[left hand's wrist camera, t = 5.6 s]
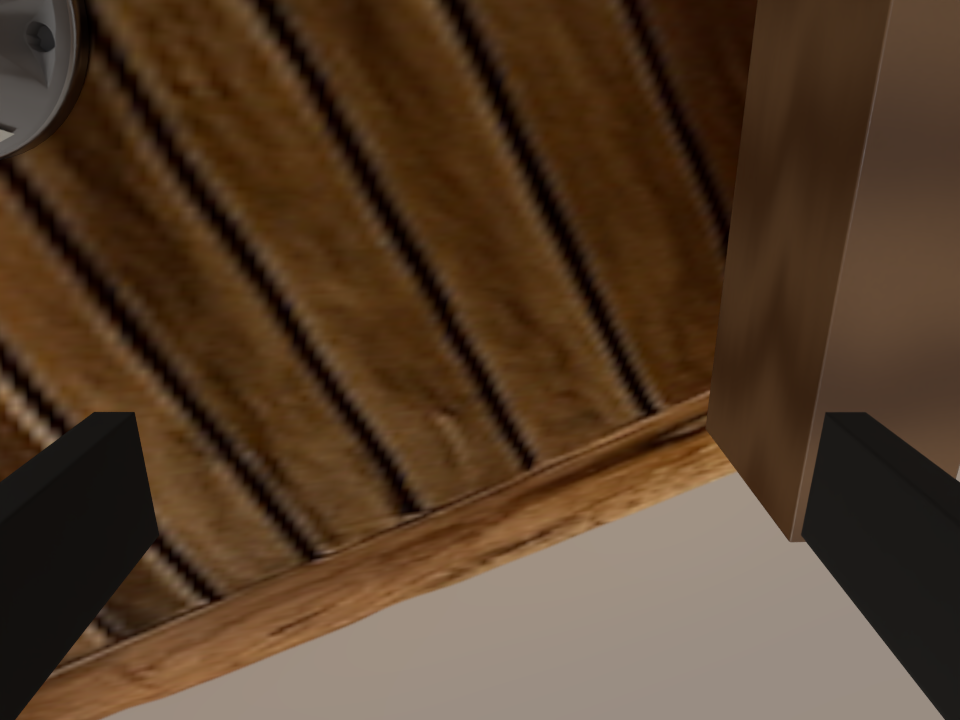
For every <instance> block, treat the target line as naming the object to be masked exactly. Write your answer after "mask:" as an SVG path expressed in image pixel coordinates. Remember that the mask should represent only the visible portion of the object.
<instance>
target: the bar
mask: <svg viewBox="0 0 960 720" xmlns="http://www.w3.org/2000/svg"><path fill="white" fill-rule="evenodd" d="M825 412H866V413H868V414H869V415H870V416H872V417H873V418H874V419H876V420H877V421H878V422H880V423H881V424H882V425H884V426H885V427H886V428H888V429H889V430H890V431H892V432H893V433H894V434H896V435H897V436H898V437H900V438H901V439H902V440H904V441H905V442H906V443H908V444H909V445H910V446H912V447H913V448H915V449H916V450H917V451H919V452H920V453H921V454H923V455H924V456H925V457H927V458H928V459H929V460H931V461H932V462H933V463H935V464H936V465H937V466H939V467H940V468H941V469H943V470H944V471H945V472H947V473H948V474H949V475H951V476H952V477H953V478H955V479H956V476H957V473H958V469H959V466H960V0H758V2H757V11H756V19H755V27H754V35H753V44H752V52H751V60H750V68H749V76H748V85H747V93H746V101H745V109H744V118H743V126H742V134H741V142H740V150H739V159H738V167H737V175H736V183H735V191H734V200H733V208H732V216H731V224H730V233H729V241H728V249H727V257H726V265H725V274H724V282H723V290H722V298H721V307H720V315H719V323H718V331H717V339H716V348H715V356H714V364H713V372H712V380H711V389H710V397H709V405H708V413H707V422H706V430H707V431H708V433H709V434H710V435H711V437H712V438H713V439H714V441H715V442H716V443H717V445H718V446H719V447H720V449H721V450H722V451H723V453H724V454H725V456H726V457H727V458H728V460H729V461H730V462H731V464H732V465H733V466H734V468H735V469H736V470H737V472H738V473H739V474H740V476H741V477H742V478H743V480H744V481H745V483H746V484H747V485H748V487H749V488H750V489H751V491H752V492H753V493H754V495H755V496H756V497H757V499H758V500H759V501H760V503H761V504H762V505H763V507H764V508H765V510H766V511H767V512H768V514H769V515H770V516H771V518H772V519H773V520H774V522H775V523H776V524H777V526H778V527H779V528H780V530H781V531H782V532H783V534H784V535H785V537H786V538H787V539H788V540H789V541H790V542H806V541H805V540H804V538H803V537H802V536H801V532H802V527H803V522H804V517H805V512H806V507H807V502H808V497H809V492H810V487H811V482H812V477H813V472H814V467H815V462H816V457H817V452H818V447H819V442H820V437H821V432H822V427H823V422H824V417H825Z"/></svg>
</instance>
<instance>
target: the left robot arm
mask: <svg viewBox="0 0 960 720" xmlns="http://www.w3.org/2000/svg"><path fill="white" fill-rule="evenodd" d="M88 52H89V31H88V21H87V14H86V9H85V4H84V0H0V159H5V158H10V157H13V156H16V155H19V154H22V153H24V152H26V151H28V150H30V149H32V148H34V147H36V146H37V145H39V144H40V143H42V142H43V141H45V140H46V139H47V138H48V137H50V136H51V135H52V134H53V133H54V132H55V131H56V130H57V129H58V128H59V127H60V126H61V125H62V124H63V122H64V121H65V119H66V118H67V117H68V115H69V114H70V112H71V110H72V109H73V107H74V105H75V103H76V101H77V99H78V96H79V94H80V92H81V89H82V86H83V82H84V79H85V75H86V69H87V64H88ZM158 536H159V532H158V527H157V522H156V517H155V512H154V507H153V502H152V497H151V492H150V487H149V482H148V477H147V472H146V467H145V462H144V457H143V452H142V447H141V442H140V437H139V432H138V427H137V422H136V417H135V412H94V413H92V414H91V415H90V416H88V417H87V418H86V419H84V420H83V421H82V422H80V423H79V424H78V425H76V426H75V427H74V428H72V429H71V430H70V431H68V432H67V433H66V434H64V435H63V436H62V437H60V438H59V439H58V440H56V441H55V442H54V443H52V444H51V445H50V446H48V447H47V448H45V449H44V450H43V451H41V452H40V453H39V454H37V455H36V456H35V457H33V458H32V459H31V460H29V461H28V462H27V463H25V464H24V465H23V466H21V467H20V468H19V469H17V470H16V471H15V472H13V473H12V474H11V475H9V476H8V477H7V478H5V479H4V480H3V481H1V482H0V720H15V719H16V718H17V717H18V715H19V714H20V713H21V711H22V710H23V709H24V708H25V706H26V705H27V704H28V702H29V701H30V700H31V699H32V697H33V696H34V695H35V694H36V692H37V691H38V690H39V688H40V687H41V686H42V685H43V683H44V682H45V681H46V679H47V678H48V677H49V676H50V674H51V673H52V672H53V670H54V669H55V668H56V667H57V665H58V664H59V663H60V661H61V660H62V659H63V658H64V656H65V655H66V654H67V652H68V651H69V650H70V649H71V647H72V646H73V645H74V644H75V642H76V641H77V640H78V638H79V637H80V636H81V635H82V633H83V632H84V631H85V629H86V628H87V627H88V626H89V624H90V623H91V622H92V620H93V619H94V618H95V617H96V615H97V614H98V613H99V611H100V610H101V609H102V608H103V606H104V605H105V604H106V602H107V601H108V600H109V599H110V597H111V596H112V595H113V594H114V592H115V591H116V590H117V588H118V587H119V586H120V585H121V583H122V582H123V581H124V579H125V578H126V577H127V576H128V574H129V573H130V572H131V570H132V569H133V568H134V567H135V565H136V564H137V563H138V561H139V560H140V559H141V558H142V556H143V555H144V554H145V552H146V551H147V550H148V549H149V547H150V546H151V545H152V544H153V542H154V541H155V540H156V538H157V537H158ZM801 536H802V537H803V538H804V540H805V541H806V542H807V544H808V545H809V546H810V547H811V549H812V550H813V551H814V552H815V554H816V555H817V556H818V558H819V559H820V560H821V561H822V563H823V564H824V565H825V567H826V568H827V569H828V570H829V572H830V573H831V574H832V576H833V577H834V578H835V579H836V581H837V582H838V583H839V585H840V586H841V587H842V588H843V590H844V591H845V592H846V594H847V595H848V596H849V597H850V599H851V600H852V601H853V602H854V604H855V605H856V606H857V608H858V609H859V610H860V611H861V613H862V614H863V615H864V617H865V618H866V619H867V620H868V622H869V623H870V624H871V626H872V627H873V628H874V629H875V631H876V632H877V633H878V635H879V636H880V637H881V638H882V640H883V641H884V642H885V644H886V645H887V646H888V647H889V649H890V650H891V651H892V652H893V654H894V655H895V656H896V658H897V659H898V660H899V661H900V663H901V664H902V665H903V667H904V668H905V669H906V670H907V672H908V673H909V674H910V676H911V677H912V678H913V679H914V681H915V682H916V683H917V685H918V686H919V687H920V688H921V690H922V691H923V692H924V693H925V695H926V696H927V697H928V699H929V700H930V701H931V702H932V704H933V705H934V706H935V708H936V709H937V710H938V711H939V713H940V714H941V715H942V716H943V718H944V719H945V720H960V482H959V481H957V480H956V479H955V478H953V477H952V476H951V475H949V474H948V473H947V472H945V471H944V470H943V469H941V468H940V467H939V466H937V465H936V464H935V463H933V462H932V461H931V460H929V459H928V458H927V457H925V456H924V455H923V454H921V453H920V452H919V451H917V450H916V449H915V448H913V447H912V446H910V445H909V444H908V443H906V442H905V441H904V440H902V439H901V438H900V437H898V436H897V435H896V434H894V433H893V432H892V431H890V430H889V429H888V428H886V427H885V426H884V425H882V424H881V423H880V422H878V421H877V420H876V419H874V418H873V417H872V416H870V415H869V414H868V413H866V412H825V417H824V422H823V427H822V432H821V437H820V442H819V447H818V452H817V457H816V462H815V467H814V472H813V477H812V482H811V487H810V492H809V497H808V502H807V507H806V512H805V517H804V522H803V527H802V532H801Z"/></svg>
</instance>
